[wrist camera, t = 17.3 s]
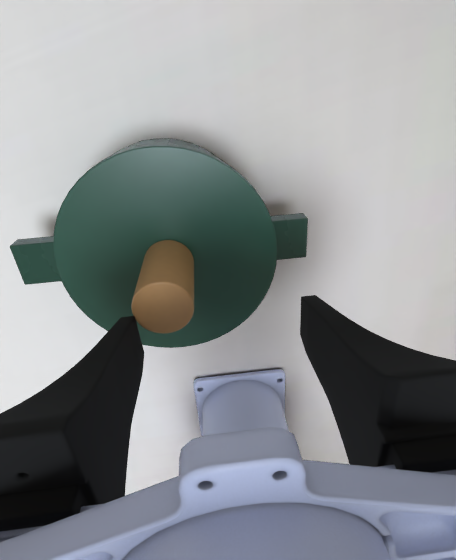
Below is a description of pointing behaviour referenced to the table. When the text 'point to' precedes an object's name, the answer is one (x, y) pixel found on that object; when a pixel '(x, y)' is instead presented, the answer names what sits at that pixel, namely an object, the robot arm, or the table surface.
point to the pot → (40, 251)
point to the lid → (165, 244)
